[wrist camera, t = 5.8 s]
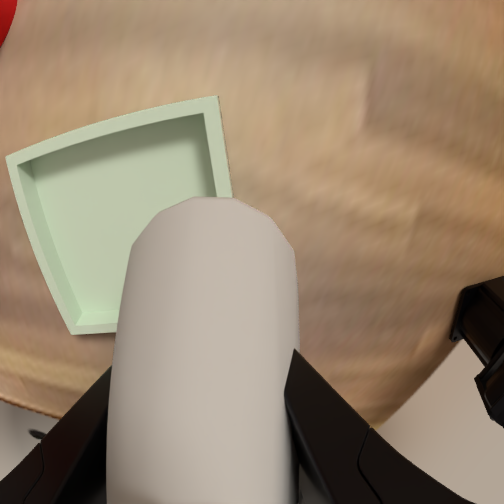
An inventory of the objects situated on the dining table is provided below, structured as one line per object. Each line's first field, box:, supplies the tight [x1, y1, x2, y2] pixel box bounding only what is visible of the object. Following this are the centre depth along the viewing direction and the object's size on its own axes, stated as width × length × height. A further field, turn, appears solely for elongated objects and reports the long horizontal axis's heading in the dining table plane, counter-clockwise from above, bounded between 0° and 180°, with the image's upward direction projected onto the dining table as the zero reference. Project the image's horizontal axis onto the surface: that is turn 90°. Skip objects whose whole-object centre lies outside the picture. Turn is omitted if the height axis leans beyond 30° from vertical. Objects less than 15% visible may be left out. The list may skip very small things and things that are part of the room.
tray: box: [6, 95, 234, 335], centre depth 19 cm, size 14×14×2 cm
